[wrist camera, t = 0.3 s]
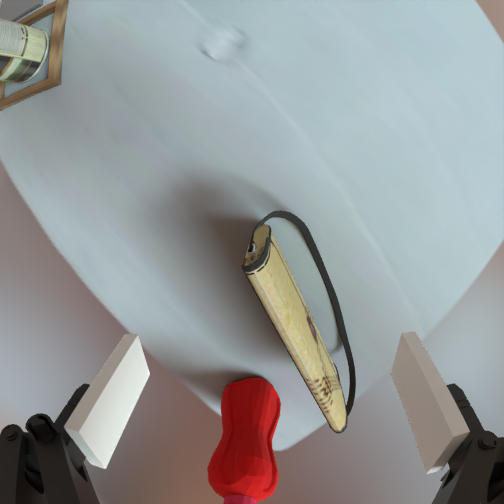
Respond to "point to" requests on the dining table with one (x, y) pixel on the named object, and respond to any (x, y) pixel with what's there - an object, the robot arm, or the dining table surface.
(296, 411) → the dining table surface
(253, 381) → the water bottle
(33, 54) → the coffee can
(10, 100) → the frame
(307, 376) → the clutch purse
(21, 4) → the mat
